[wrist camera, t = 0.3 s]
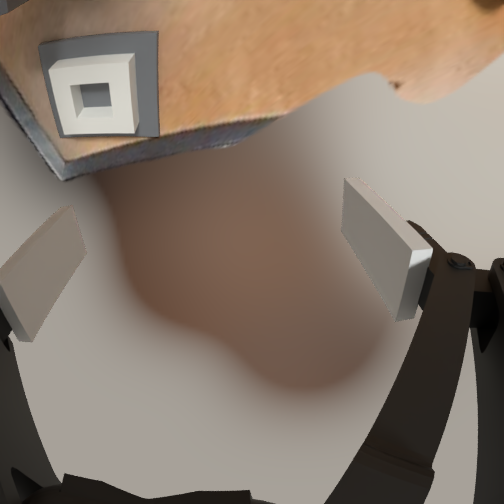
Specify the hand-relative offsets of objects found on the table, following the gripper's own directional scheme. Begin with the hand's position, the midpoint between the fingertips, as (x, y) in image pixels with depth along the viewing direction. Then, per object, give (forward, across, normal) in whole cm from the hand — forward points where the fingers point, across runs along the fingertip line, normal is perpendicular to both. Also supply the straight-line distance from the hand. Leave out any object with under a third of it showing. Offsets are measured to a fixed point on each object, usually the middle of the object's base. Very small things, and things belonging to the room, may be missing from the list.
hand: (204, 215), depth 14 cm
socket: (+33, -18, +8) cm, 39 cm away
